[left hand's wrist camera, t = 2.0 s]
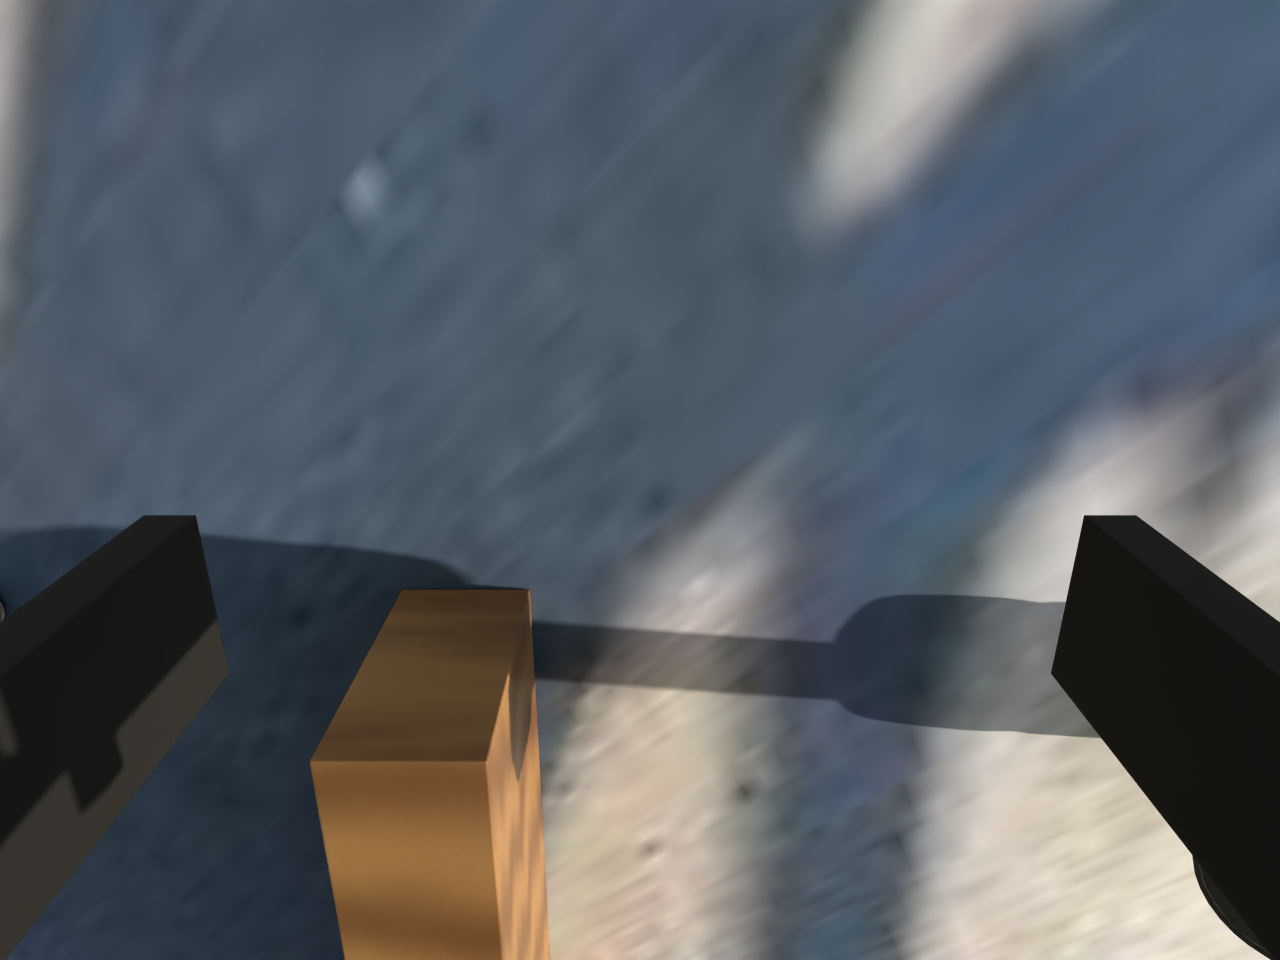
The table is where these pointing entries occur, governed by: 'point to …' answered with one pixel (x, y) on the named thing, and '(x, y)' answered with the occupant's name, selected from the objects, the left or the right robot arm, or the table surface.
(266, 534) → the table surface
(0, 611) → the light bulb
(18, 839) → the left robot arm
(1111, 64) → the table surface
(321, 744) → the box
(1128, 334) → the table surface
